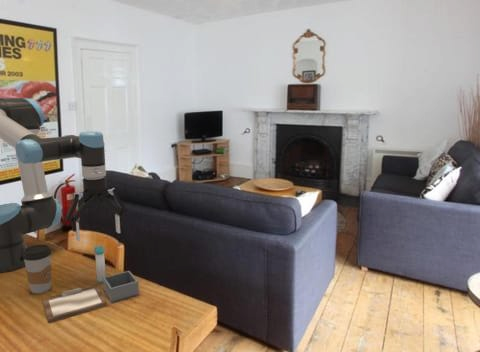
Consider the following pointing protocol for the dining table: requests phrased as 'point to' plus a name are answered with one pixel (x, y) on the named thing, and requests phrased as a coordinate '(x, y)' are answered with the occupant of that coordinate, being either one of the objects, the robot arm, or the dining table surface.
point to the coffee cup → (38, 268)
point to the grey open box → (120, 286)
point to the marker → (100, 263)
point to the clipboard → (73, 303)
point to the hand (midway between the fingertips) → (98, 235)
